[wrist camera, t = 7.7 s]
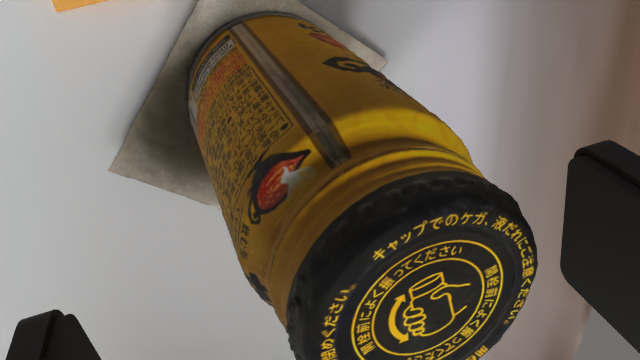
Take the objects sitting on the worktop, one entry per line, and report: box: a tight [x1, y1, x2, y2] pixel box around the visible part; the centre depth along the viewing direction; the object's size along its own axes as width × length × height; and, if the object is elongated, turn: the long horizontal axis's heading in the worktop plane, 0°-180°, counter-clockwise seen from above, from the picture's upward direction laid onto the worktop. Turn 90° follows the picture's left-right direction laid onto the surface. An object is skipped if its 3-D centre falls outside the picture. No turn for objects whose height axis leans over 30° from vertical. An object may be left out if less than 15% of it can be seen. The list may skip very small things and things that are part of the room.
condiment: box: [108, 0, 538, 360], centre depth 15 cm, size 7×8×12 cm
